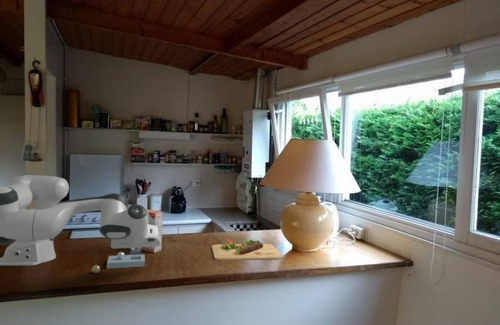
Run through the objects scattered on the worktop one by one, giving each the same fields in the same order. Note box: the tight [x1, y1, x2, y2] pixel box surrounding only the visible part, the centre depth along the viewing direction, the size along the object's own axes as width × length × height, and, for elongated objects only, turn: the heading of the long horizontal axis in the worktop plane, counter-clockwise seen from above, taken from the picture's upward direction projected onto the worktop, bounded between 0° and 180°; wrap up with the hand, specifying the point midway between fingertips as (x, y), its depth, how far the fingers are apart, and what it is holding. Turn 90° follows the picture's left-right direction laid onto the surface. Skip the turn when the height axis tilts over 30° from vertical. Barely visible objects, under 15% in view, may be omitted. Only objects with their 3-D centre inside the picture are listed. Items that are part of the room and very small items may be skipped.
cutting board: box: [211, 238, 283, 261], centre depth 183 cm, size 35×23×8 cm
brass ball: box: [91, 264, 101, 274], centre depth 145 cm, size 3×3×3 cm
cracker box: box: [141, 208, 164, 254], centre depth 179 cm, size 14×6×21 cm, turn 62°
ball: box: [116, 251, 126, 259], centre depth 157 cm, size 3×3×3 cm
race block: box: [129, 248, 142, 255], centre depth 167 cm, size 5×6×8 cm
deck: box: [106, 253, 146, 270], centre depth 158 cm, size 16×10×2 cm, turn 108°
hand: (136, 249), depth 151 cm, fingers closed
